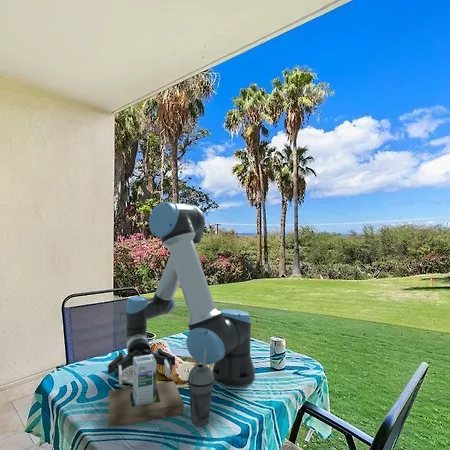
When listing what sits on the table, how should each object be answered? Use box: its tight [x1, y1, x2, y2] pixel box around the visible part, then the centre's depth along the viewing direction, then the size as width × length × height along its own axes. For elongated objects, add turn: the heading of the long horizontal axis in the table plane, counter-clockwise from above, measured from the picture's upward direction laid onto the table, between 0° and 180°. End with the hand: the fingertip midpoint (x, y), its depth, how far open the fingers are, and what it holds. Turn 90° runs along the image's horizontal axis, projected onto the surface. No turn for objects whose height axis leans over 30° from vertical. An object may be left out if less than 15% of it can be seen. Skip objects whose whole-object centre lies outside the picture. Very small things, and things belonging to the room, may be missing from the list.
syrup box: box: [132, 354, 157, 407], centre depth 97 cm, size 6×6×14 cm
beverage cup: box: [187, 349, 215, 428], centre depth 91 cm, size 7×7×20 cm
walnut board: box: [108, 380, 185, 429], centre depth 97 cm, size 20×14×3 cm
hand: (145, 376), depth 95 cm, fingers open, 13 cm apart
